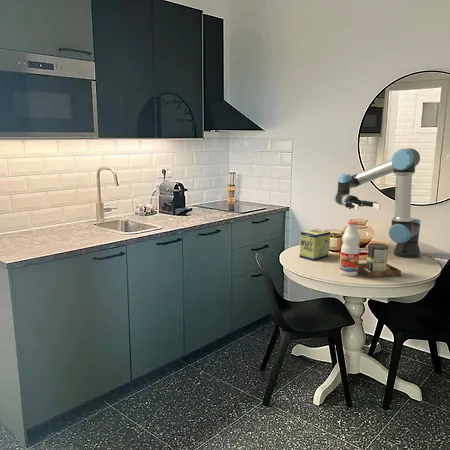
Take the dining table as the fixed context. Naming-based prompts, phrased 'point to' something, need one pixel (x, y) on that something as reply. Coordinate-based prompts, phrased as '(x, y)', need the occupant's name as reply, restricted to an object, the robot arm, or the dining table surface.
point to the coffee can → (377, 257)
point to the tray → (389, 271)
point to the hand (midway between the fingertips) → (369, 207)
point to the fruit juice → (350, 250)
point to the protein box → (314, 244)
